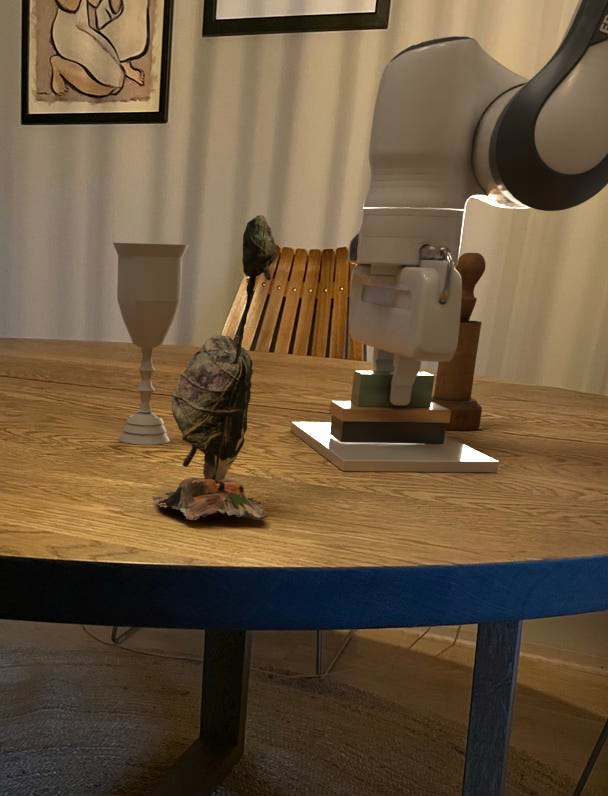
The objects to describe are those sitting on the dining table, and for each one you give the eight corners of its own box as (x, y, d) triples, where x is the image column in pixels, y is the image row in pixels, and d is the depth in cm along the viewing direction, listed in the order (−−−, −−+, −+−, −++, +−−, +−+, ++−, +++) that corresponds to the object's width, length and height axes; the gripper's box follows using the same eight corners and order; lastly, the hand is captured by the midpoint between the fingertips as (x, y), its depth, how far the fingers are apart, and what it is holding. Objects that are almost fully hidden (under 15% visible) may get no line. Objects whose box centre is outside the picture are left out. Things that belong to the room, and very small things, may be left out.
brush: (430, 435, 102) (439, 370, 99) (446, 444, 97) (456, 377, 95) (326, 433, 101) (333, 368, 98) (339, 442, 97) (346, 375, 94)
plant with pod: (253, 493, 81) (273, 218, 74) (273, 531, 70) (299, 214, 63) (150, 490, 81) (160, 214, 73) (154, 528, 70) (166, 210, 63)
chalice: (145, 449, 97) (152, 243, 90) (93, 439, 101) (96, 242, 94) (194, 440, 102) (204, 245, 95) (143, 431, 106) (149, 243, 99)
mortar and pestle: (408, 425, 114) (430, 251, 107) (429, 418, 119) (451, 251, 112) (468, 433, 110) (495, 253, 104) (486, 425, 115) (513, 253, 109)
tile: (419, 433, 109) (421, 423, 109) (497, 472, 91) (499, 461, 90) (290, 431, 108) (291, 421, 108) (342, 471, 90) (343, 460, 89)
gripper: (491, 246, 83) (466, 419, 88) (405, 245, 102) (389, 387, 107) (415, 244, 83) (394, 418, 88) (343, 243, 102) (330, 386, 107)
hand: (391, 401), depth 98 cm, fingers closed on brush, 2 cm apart
